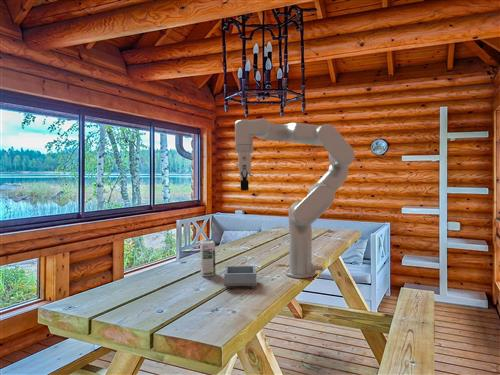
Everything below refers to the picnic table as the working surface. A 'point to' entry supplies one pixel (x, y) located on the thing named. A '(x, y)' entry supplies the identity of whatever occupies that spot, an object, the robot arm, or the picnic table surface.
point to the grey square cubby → (240, 276)
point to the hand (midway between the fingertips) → (244, 189)
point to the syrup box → (207, 258)
